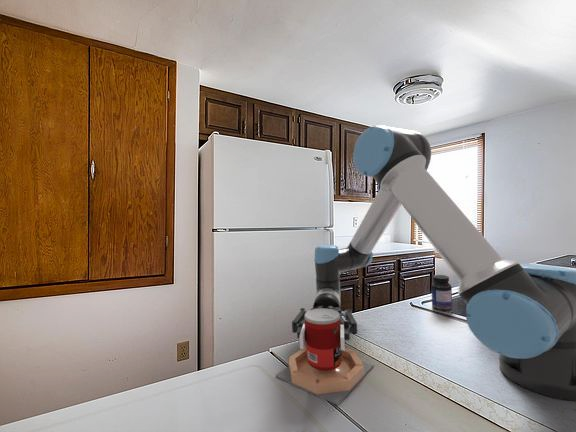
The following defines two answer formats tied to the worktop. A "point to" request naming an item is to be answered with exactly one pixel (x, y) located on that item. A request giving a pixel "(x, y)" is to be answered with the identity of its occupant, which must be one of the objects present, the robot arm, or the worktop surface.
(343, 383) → the bowl
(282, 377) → the mat
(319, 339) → the canned food
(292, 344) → the worktop surface
